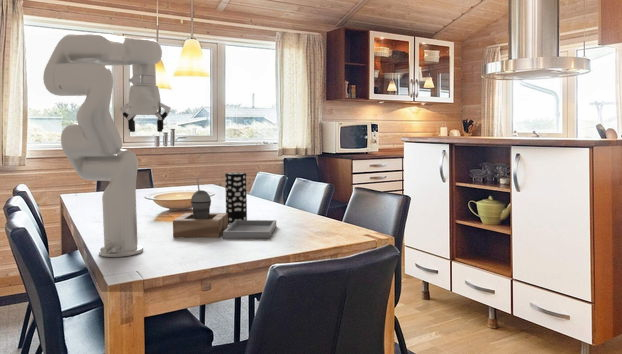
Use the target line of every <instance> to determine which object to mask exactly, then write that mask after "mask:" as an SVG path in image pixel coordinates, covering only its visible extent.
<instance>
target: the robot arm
mask: <svg viewBox="0 0 622 354" xmlns="http://www.w3.org/2000/svg"><path fill="white" fill-rule="evenodd" d="M162 58H163V50H162V47H161V45H160V43H159V42H158V41H156V40H155V39H150V38H149V39H148V38H147V39H146V38H136V37H129V36H128V37H127V36H118V35H111V34H109V35H108V34H101V33H77V34H76V33H74V34H73V33H70V34H66V35H64V36H63V37H62V38H61V39H59V41H58V42H57V44H56V46H55V47H54V49H53V51H52V54H51V55H50V57H49V60H47V63H46V65H45V66H44V67H45V68H44V71H43V77H42V79H43V85H44V86H45V89H46V90H47V91H48V92H49V93H50V94H51V95H54V96H59V97H67V96H68V97H69V96H71V97H73V96H74V97H75V96H77V97H80V96H81V97H82V96H85V99H84V101H83V103H82V104H81V105H80V107H79V108H78V110H77V113H76V122H77V123H70V124H68V125H67V126H65V127H64V128H63V129H62V131H61V134H60V143H61V144H60V145H61V148H62V151H63V153H64V155H65V158H67V159H68V161H69V163H70V164H71V166H72V167H73V169H74V170H75V172H76V173H77V175H78V176H79V177H80V178H81V179H82V180H83V181H84V180H85V181H91V182H92V181H95V182H97V181H101V182H102V181H103V182H104V181H106V182H109V184H108V185H107V186H106V188H105V189H104V191H103V194H102V197H101V198H102V199H101V200H102V222H103V224H102V225H103V243H104V245H103V246H102V247H101V248H100V249H99V250H98V254H99V256H101V257H105V258H120V257H121V258H123V257H130V256H134V255H135V256H136V255H138V254H141V253H142V252H143V251H144V246H143V245H140V244H139V242H138V217H137V216H138V215H137V194H136V193H137V191H136V190H137V177H138V175H137V174H138V169H139V160H138V156H137V155H136V153H135V152H133V151H131V150H130V149H124V148H122V147H123V140H122V137H121V135H120V132H119V130H118V128H117V126H116V124H115V121H114V120H113V117H112V115H111V112H110V105H111V100H112V95H113V94H112V93H113V85H114V77H113V74H112V71H111V69H110V68H109V67H108V66H131V67H132V68H131V69H132V76H131V78H128V83H131V85H130V86H129V92H128V103H126V104H125V105H122V106H121V107H120V108H119V110H120V111H121V113H122V115H123V116H124V117H125V118H126V120H127V123H128V124H127V126H128V127H127V128H128V130H129V133H136V121H135V120H134V119H135V118H136V117H137V115H138V116H155V117H156V118H157V120H156V129H157V132H158V133H161V132H163V130H164V120H165V119H166V118H167V117H168V116H169V113H170V112H171V109H172V108H171V106H168V105H167V104H164V103H162V101H161V95H160V90H159V86H158V85H157V76H156V75H157V74H156V65H157V64H158V63H159V62H160V61H161V59H162ZM127 109H128V111H127ZM162 109H164V112H163V113H162Z"/></svg>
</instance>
